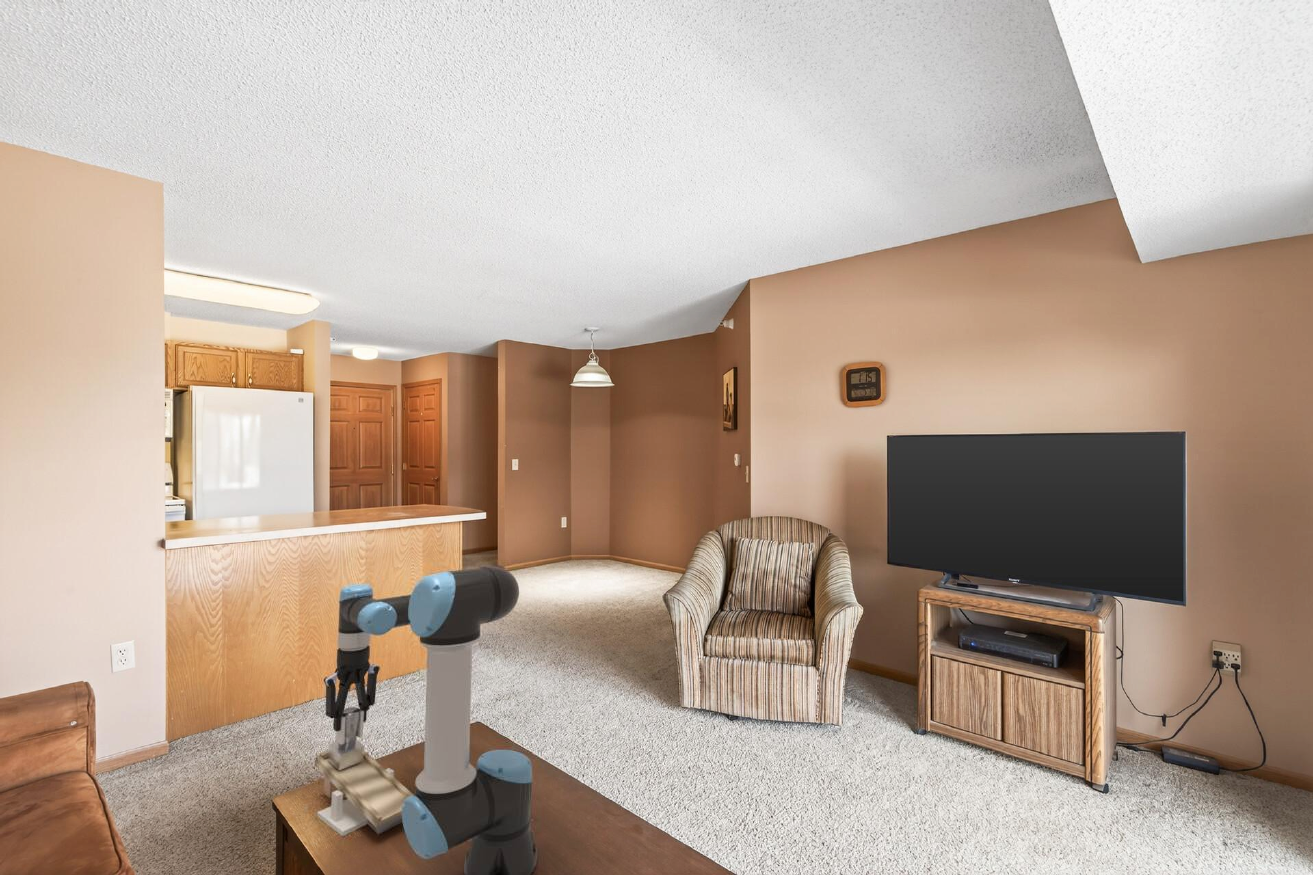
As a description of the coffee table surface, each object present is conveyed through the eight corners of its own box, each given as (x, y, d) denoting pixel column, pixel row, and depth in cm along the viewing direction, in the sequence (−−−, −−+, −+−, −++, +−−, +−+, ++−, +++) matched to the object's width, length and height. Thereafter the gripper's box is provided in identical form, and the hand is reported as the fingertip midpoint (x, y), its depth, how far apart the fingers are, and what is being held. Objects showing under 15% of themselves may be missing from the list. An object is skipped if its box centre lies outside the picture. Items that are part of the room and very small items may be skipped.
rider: (362, 760, 153) (368, 712, 152) (338, 770, 148) (345, 720, 147) (350, 750, 156) (356, 702, 156) (327, 759, 152) (333, 710, 151)
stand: (406, 804, 149) (407, 776, 150) (342, 836, 136) (343, 805, 137) (363, 776, 161) (365, 750, 162) (300, 803, 148) (302, 774, 149)
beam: (416, 816, 142) (419, 795, 142) (373, 838, 134) (376, 816, 133) (353, 758, 160) (356, 739, 159) (312, 774, 151) (314, 755, 151)
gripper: (377, 636, 161) (373, 723, 161) (311, 651, 148) (307, 747, 147) (393, 641, 157) (389, 731, 156) (326, 658, 143) (321, 756, 142)
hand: (349, 738), depth 152 cm, fingers closed on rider, 4 cm apart
